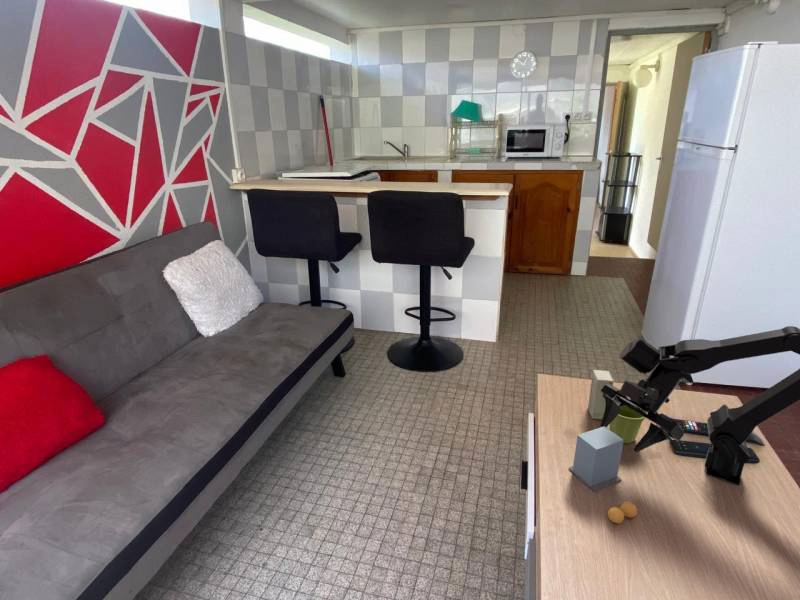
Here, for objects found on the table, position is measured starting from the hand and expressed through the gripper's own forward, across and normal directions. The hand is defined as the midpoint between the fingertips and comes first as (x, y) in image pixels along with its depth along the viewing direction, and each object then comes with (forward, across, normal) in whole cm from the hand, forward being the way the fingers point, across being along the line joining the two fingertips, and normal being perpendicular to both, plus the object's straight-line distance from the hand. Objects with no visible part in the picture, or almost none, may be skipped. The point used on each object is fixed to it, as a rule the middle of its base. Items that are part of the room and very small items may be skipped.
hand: (617, 439), depth 106 cm
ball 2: (+12, +11, 0) cm, 16 cm away
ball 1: (+14, +11, -2) cm, 18 cm away
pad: (+10, -1, +2) cm, 10 cm away
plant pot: (-3, -8, +15) cm, 17 cm away
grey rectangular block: (+9, 0, +2) cm, 10 cm away
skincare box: (-4, -18, +17) cm, 25 cm away
